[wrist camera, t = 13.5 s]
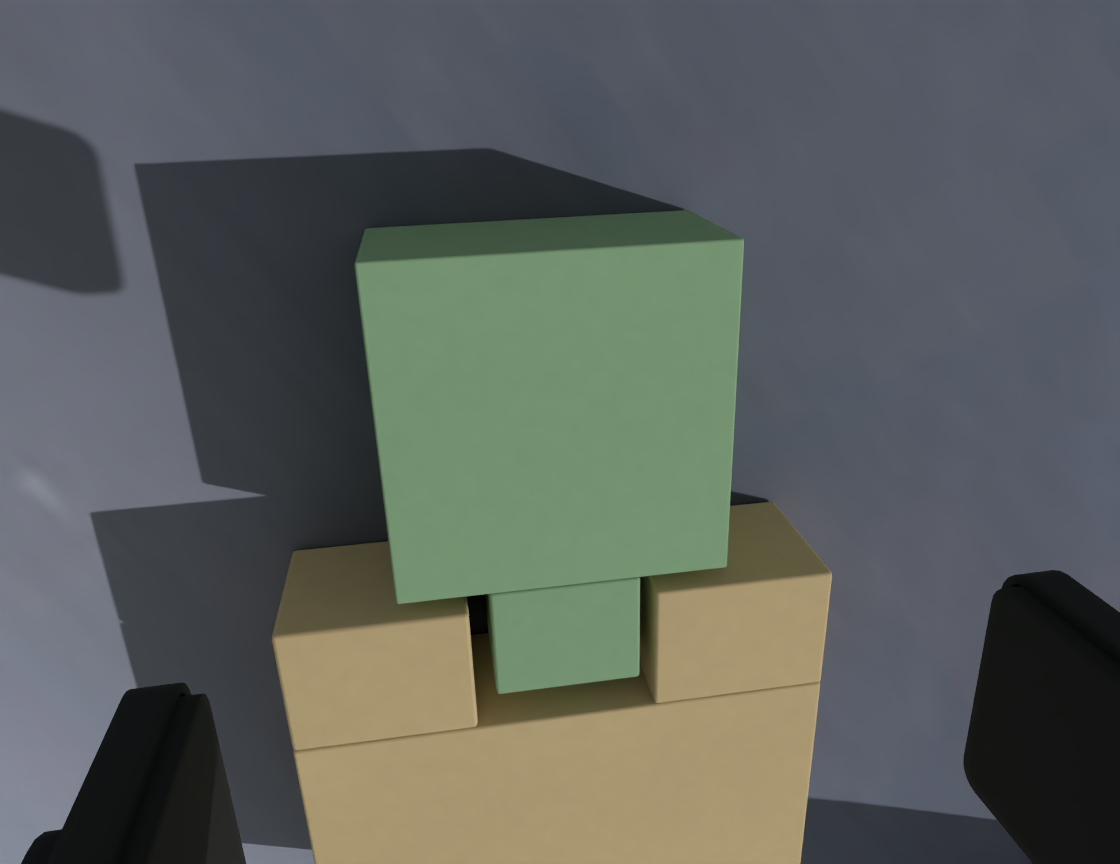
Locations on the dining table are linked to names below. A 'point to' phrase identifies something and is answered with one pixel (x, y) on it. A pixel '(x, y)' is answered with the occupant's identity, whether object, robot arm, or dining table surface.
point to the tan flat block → (558, 718)
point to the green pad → (553, 422)
